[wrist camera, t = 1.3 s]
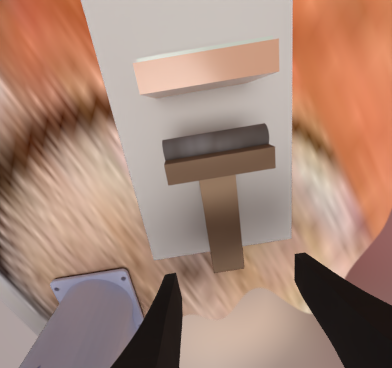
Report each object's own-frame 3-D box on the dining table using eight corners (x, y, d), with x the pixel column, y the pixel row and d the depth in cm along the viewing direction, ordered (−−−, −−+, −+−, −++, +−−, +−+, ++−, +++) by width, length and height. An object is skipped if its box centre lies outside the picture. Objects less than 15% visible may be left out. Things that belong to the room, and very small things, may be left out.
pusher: (251, 236, 21) (278, 290, 15) (191, 246, 21) (193, 303, 15) (242, 118, 17) (274, 125, 11) (168, 130, 17) (159, 144, 11)
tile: (246, 83, 16) (279, 71, 10) (155, 98, 16) (139, 94, 11) (244, 59, 16) (278, 33, 10) (150, 75, 16) (131, 58, 10)
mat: (289, 236, 22) (291, 238, 21) (154, 257, 22) (154, 260, 21) (289, -110, 13) (293, -116, 12) (63, -69, 13) (59, -75, 13)
